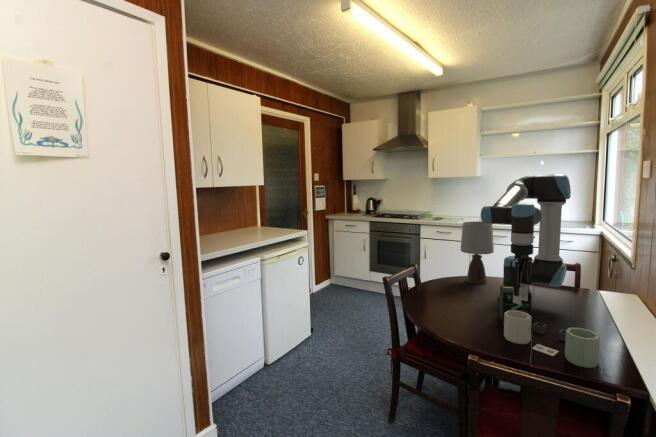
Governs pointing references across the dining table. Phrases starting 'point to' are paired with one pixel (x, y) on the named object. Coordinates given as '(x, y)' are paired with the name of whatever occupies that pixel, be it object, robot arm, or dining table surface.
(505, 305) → the tampon box
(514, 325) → the beaker cream
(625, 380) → the dining table surface
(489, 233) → the lamp
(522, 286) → the grey ball
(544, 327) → the cradle grey
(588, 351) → the beaker sage
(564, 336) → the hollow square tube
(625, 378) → the dining table surface
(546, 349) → the card
